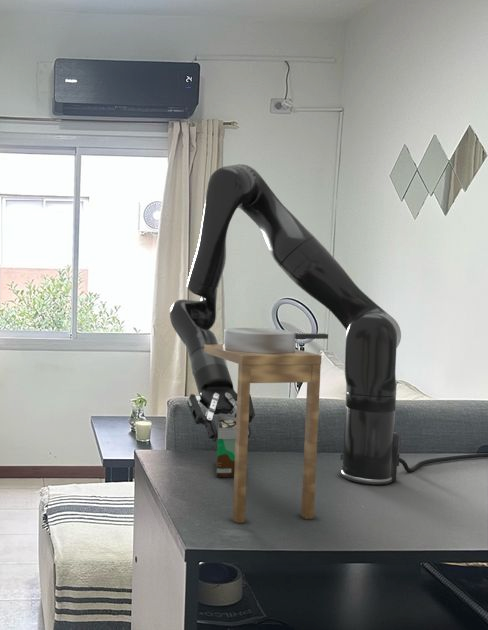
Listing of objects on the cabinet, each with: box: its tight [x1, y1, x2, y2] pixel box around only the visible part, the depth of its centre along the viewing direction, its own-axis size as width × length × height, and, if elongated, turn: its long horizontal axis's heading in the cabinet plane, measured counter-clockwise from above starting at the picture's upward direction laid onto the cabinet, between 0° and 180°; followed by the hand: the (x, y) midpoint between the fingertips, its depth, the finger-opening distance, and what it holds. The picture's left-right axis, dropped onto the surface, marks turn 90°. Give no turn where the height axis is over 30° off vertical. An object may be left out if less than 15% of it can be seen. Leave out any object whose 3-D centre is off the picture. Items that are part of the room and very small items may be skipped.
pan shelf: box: [204, 327, 329, 524], centre depth 130 cm, size 20×16×31 cm
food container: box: [215, 415, 249, 478], centre depth 151 cm, size 12×6×10 cm, turn 168°
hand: (231, 438), depth 152 cm, fingers closed on food container, 6 cm apart
